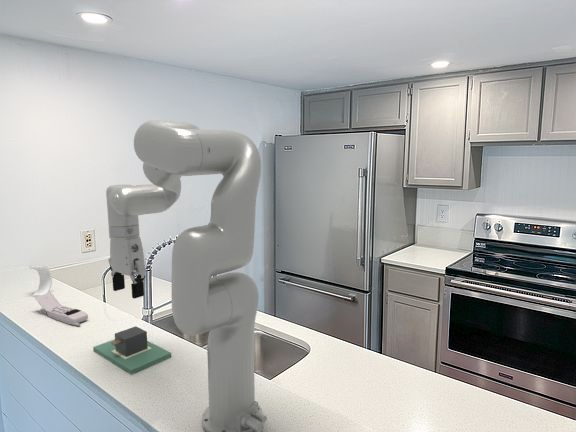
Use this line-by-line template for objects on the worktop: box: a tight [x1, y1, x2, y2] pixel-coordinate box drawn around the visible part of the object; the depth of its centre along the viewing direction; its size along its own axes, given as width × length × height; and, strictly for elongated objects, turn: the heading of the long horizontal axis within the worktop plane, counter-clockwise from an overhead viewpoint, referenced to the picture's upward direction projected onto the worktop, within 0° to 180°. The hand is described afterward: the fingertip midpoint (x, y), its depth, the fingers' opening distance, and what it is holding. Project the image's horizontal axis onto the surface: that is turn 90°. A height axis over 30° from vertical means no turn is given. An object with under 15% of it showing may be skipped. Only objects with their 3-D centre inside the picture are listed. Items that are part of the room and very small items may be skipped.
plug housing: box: [111, 326, 148, 357], centre depth 116 cm, size 6×8×5 cm, turn 140°
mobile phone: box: [33, 293, 89, 327], centre depth 144 cm, size 6×6×25 cm
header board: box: [92, 338, 172, 375], centre depth 117 cm, size 20×12×4 cm, turn 50°
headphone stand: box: [29, 265, 53, 298], centre depth 165 cm, size 5×6×12 cm
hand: (128, 293), depth 115 cm, fingers open, 9 cm apart
